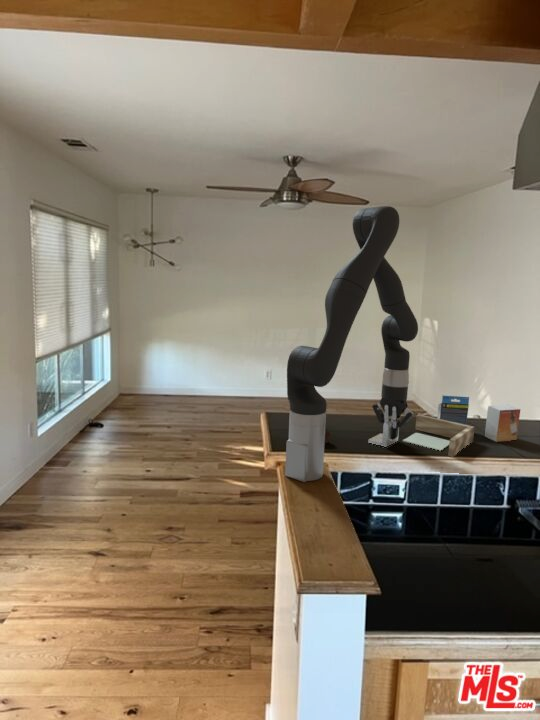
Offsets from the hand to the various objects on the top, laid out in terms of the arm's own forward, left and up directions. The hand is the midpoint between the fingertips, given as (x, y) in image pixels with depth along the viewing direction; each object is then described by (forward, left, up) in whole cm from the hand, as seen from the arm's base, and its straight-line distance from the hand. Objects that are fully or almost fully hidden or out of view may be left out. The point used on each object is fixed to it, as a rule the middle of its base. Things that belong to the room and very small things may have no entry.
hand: (390, 438), depth 154 cm
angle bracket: (0, +2, -2) cm, 3 cm away
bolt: (-9, +21, -2) cm, 23 cm away
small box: (+30, -24, -2) cm, 38 cm away
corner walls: (+12, -9, -2) cm, 15 cm away
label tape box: (+27, -9, -2) cm, 28 cm away
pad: (+10, -8, -2) cm, 13 cm away
